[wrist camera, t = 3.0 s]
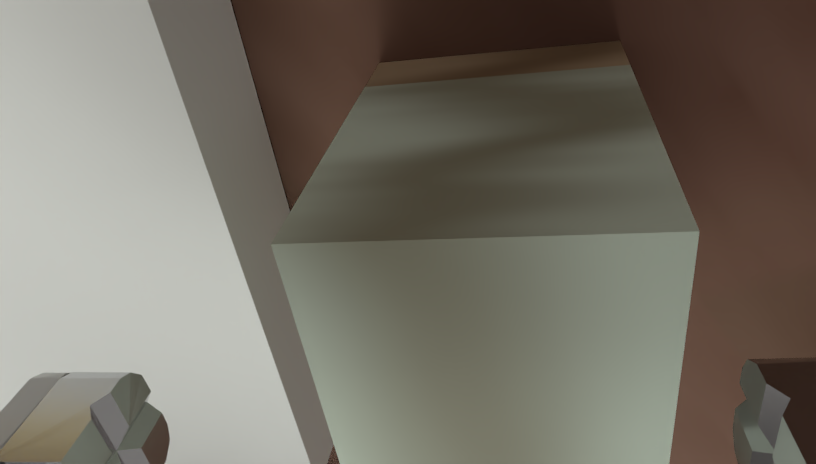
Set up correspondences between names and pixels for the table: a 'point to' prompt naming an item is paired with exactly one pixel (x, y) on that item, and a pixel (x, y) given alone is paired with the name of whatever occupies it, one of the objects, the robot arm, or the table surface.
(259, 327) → the block
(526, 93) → the pale green block
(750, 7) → the table surface
